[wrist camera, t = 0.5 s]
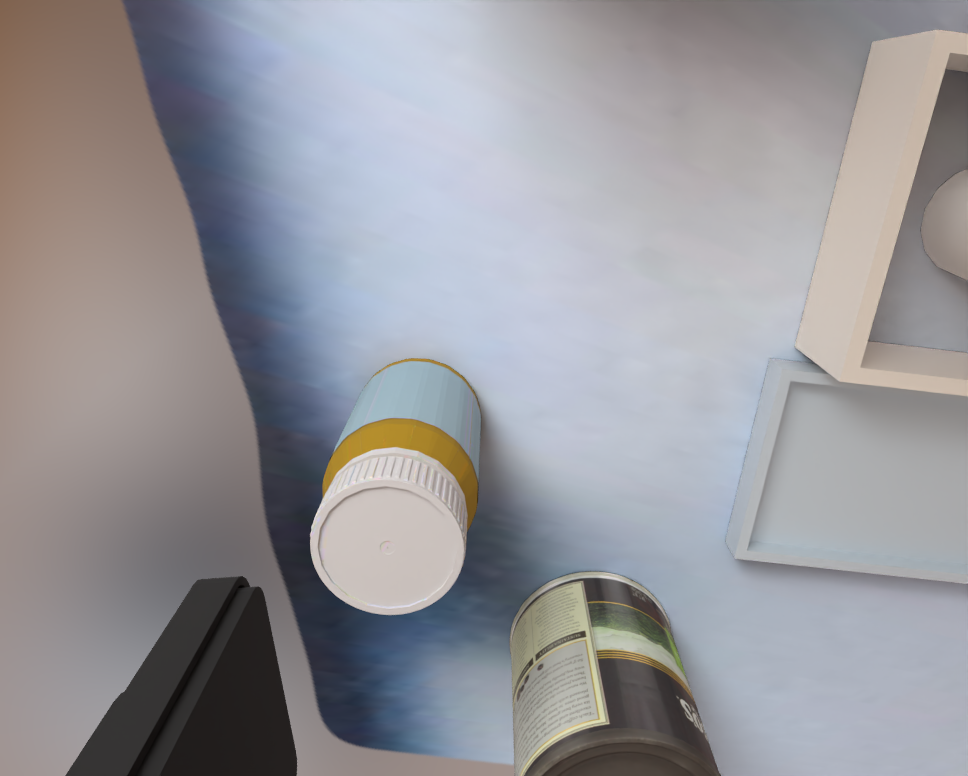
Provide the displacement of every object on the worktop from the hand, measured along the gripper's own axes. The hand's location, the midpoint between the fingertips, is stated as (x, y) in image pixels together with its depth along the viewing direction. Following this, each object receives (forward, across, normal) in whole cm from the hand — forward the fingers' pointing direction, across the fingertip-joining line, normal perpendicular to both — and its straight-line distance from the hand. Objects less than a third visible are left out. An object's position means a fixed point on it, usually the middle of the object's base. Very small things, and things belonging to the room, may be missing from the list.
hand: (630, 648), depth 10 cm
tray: (+34, -21, +15) cm, 43 cm away
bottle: (+34, +7, +9) cm, 36 cm away
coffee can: (+34, -2, +25) cm, 43 cm away
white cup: (+34, -24, +1) cm, 42 cm away
